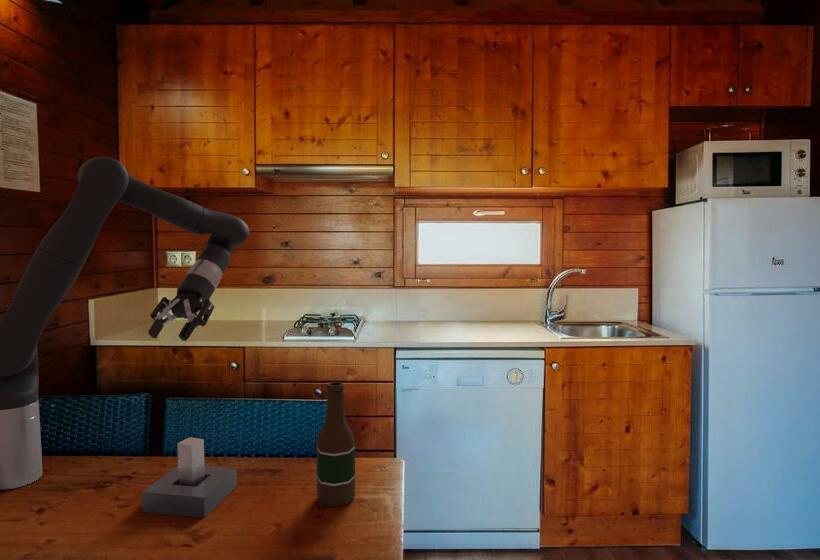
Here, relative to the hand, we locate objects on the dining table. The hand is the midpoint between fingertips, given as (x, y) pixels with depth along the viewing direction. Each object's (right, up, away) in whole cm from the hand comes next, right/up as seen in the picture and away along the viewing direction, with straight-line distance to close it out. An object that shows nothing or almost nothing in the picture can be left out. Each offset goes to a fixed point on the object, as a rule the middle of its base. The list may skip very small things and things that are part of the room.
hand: (166, 337), depth 120 cm
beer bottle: (+40, -32, -10) cm, 52 cm away
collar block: (+10, -32, -11) cm, 35 cm away
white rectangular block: (+10, -32, -11) cm, 35 cm away
